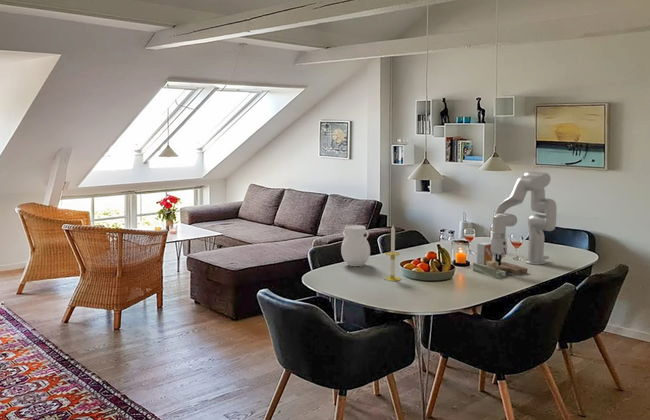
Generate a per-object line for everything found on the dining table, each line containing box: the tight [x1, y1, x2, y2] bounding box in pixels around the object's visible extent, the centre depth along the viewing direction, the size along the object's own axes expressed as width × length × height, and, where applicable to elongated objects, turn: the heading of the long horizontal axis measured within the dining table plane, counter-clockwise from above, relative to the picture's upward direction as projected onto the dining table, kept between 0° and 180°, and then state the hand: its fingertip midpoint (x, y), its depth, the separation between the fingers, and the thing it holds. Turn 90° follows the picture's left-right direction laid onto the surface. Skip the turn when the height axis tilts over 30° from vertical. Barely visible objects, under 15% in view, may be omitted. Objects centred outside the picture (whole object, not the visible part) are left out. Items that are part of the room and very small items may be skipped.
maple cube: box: [485, 260, 498, 269], centre depth 388 cm, size 5×5×4 cm
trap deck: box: [472, 261, 528, 279], centre depth 391 cm, size 25×20×5 cm
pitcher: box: [340, 224, 371, 267], centre depth 409 cm, size 19×18×25 cm
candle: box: [385, 225, 402, 282], centre depth 373 cm, size 10×10×32 cm
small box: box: [476, 242, 494, 265], centre depth 414 cm, size 8×6×13 cm
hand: (497, 265), depth 389 cm, fingers closed
